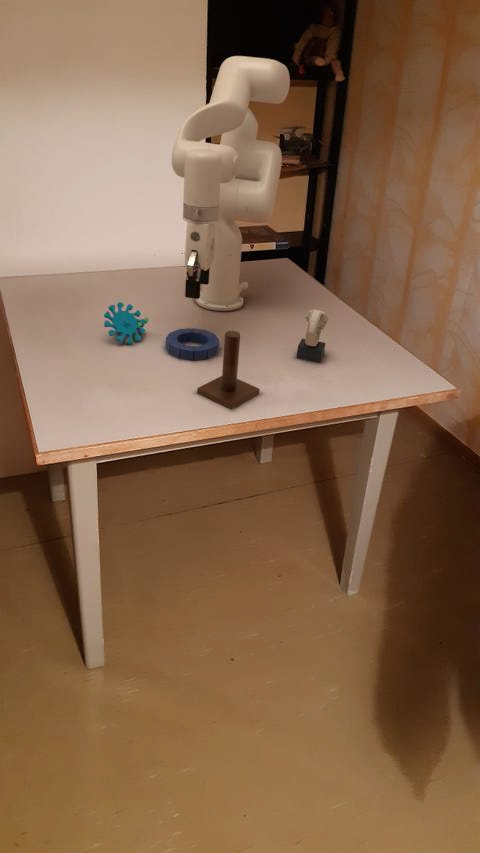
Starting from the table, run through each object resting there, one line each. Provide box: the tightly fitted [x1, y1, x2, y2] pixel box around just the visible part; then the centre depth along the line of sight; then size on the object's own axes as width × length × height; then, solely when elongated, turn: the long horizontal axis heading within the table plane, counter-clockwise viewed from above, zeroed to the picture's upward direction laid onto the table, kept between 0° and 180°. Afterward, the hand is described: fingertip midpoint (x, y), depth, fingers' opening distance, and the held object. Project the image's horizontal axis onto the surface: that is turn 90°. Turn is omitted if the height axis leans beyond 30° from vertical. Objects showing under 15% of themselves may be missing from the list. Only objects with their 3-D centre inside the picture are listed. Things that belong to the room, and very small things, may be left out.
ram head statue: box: [296, 309, 329, 364], centre depth 150 cm, size 6×8×11 cm
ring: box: [165, 327, 220, 362], centre depth 152 cm, size 12×12×2 cm
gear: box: [103, 301, 150, 345], centre depth 154 cm, size 11×6×10 cm
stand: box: [196, 330, 261, 410], centre depth 132 cm, size 9×9×13 cm
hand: (197, 290), depth 149 cm, fingers open, 9 cm apart
